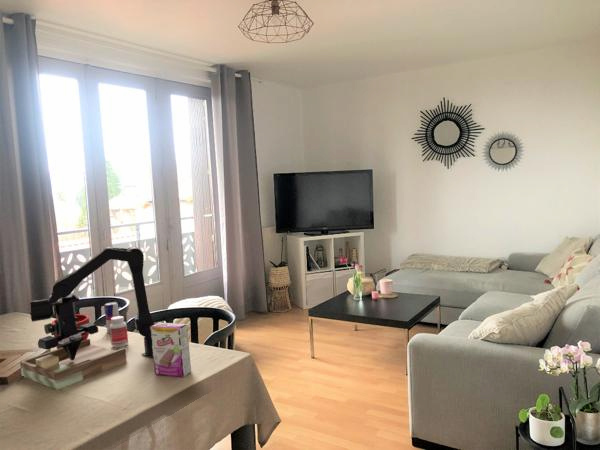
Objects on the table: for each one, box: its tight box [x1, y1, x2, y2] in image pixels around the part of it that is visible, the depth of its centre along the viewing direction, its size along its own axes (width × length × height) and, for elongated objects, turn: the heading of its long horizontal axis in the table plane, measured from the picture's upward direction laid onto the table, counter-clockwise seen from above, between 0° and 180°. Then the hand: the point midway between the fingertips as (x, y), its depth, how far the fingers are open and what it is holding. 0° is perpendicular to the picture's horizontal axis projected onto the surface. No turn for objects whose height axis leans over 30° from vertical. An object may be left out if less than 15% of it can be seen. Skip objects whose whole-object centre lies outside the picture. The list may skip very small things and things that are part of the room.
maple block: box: [36, 354, 60, 371], centre depth 164 cm, size 5×5×4 cm
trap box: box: [19, 338, 128, 391], centre depth 171 cm, size 23×25×5 cm
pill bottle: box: [110, 315, 129, 348], centre depth 193 cm, size 6×6×11 cm
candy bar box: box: [150, 321, 192, 378], centre depth 161 cm, size 11×5×16 cm, turn 71°
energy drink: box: [104, 301, 120, 333], centre depth 212 cm, size 5×5×12 cm
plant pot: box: [51, 313, 90, 350], centre depth 192 cm, size 13×13×12 cm
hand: (72, 359), depth 170 cm, fingers closed
